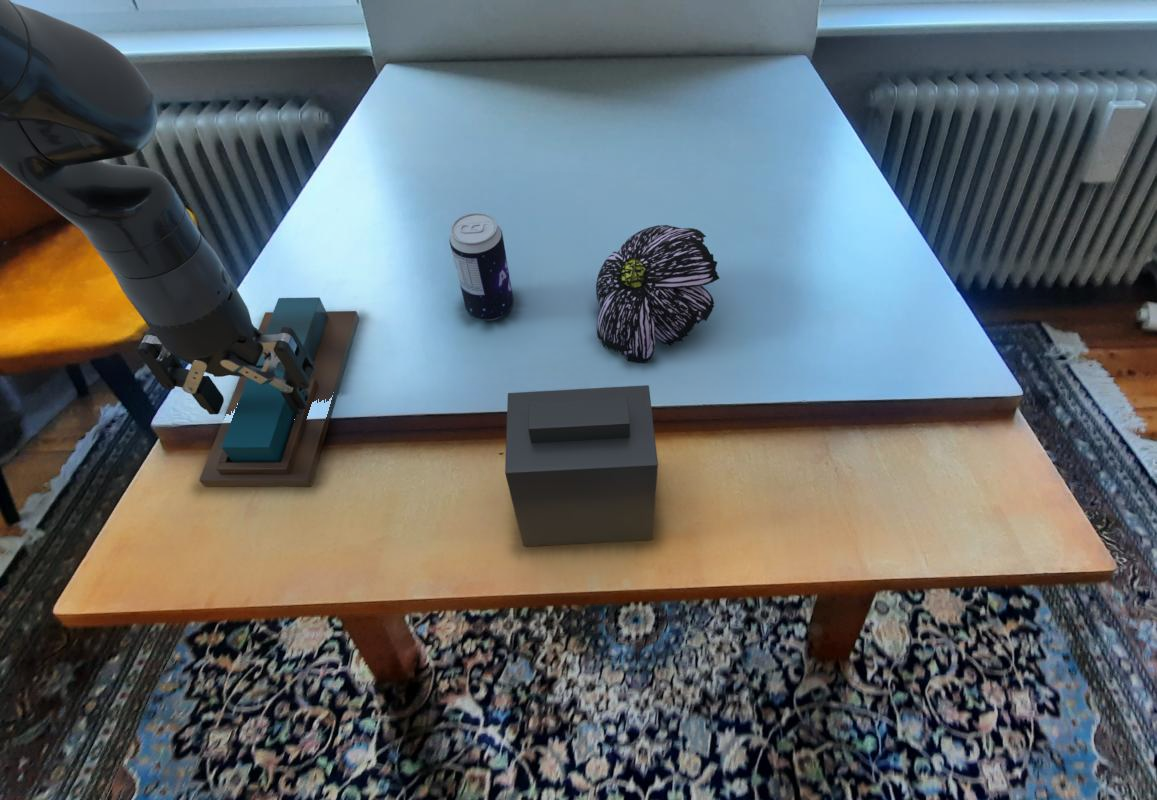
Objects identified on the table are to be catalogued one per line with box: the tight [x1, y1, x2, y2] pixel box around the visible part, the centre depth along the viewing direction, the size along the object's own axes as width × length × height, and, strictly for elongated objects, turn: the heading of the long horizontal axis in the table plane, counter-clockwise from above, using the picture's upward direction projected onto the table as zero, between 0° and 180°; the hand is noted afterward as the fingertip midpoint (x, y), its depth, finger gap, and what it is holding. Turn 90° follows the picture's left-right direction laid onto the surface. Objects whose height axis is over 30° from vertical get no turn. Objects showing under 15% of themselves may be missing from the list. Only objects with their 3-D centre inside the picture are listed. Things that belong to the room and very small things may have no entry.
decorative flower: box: [595, 224, 720, 364], centre depth 81 cm, size 15×12×15 cm
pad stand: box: [504, 384, 659, 547], centre depth 64 cm, size 12×8×15 cm, turn 92°
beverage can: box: [448, 212, 514, 321], centre depth 82 cm, size 6×6×12 cm
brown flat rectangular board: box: [198, 296, 360, 487], centre depth 78 cm, size 23×11×4 cm, turn 178°
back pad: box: [222, 368, 296, 463], centre depth 75 cm, size 10×5×3 cm, turn 178°
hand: (259, 407), depth 74 cm, fingers open, 8 cm apart
